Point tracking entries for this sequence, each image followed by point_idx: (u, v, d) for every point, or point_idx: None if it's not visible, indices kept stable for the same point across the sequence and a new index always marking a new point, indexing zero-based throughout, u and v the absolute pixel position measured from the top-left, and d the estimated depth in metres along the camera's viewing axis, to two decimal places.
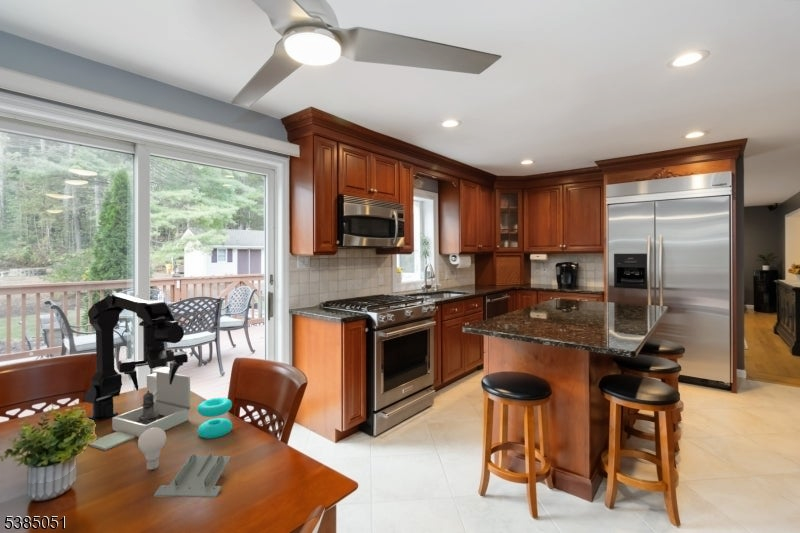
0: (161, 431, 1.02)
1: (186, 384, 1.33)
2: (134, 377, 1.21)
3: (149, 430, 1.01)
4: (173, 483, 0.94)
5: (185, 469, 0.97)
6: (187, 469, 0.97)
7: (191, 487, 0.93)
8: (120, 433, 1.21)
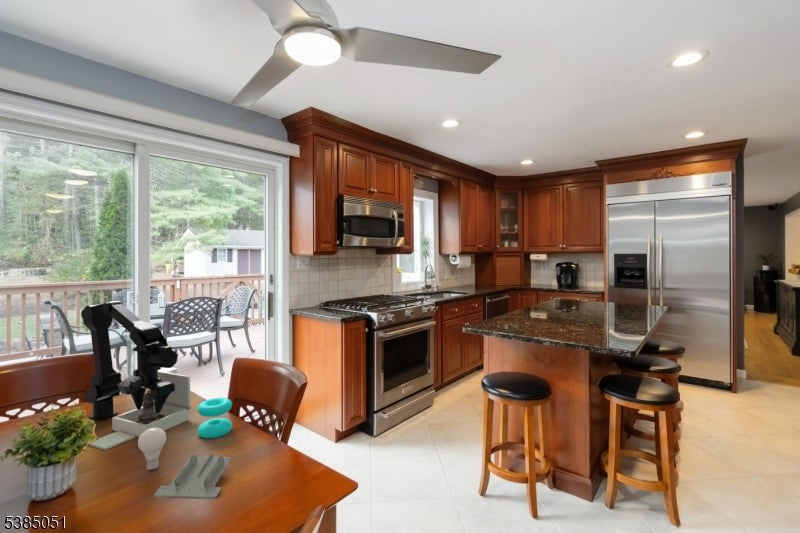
0: (161, 431, 1.02)
1: (186, 384, 1.33)
2: (133, 396, 1.29)
3: (149, 430, 1.01)
4: (173, 484, 0.94)
5: (185, 470, 0.96)
6: (187, 470, 0.97)
7: (191, 488, 0.92)
8: (120, 433, 1.21)
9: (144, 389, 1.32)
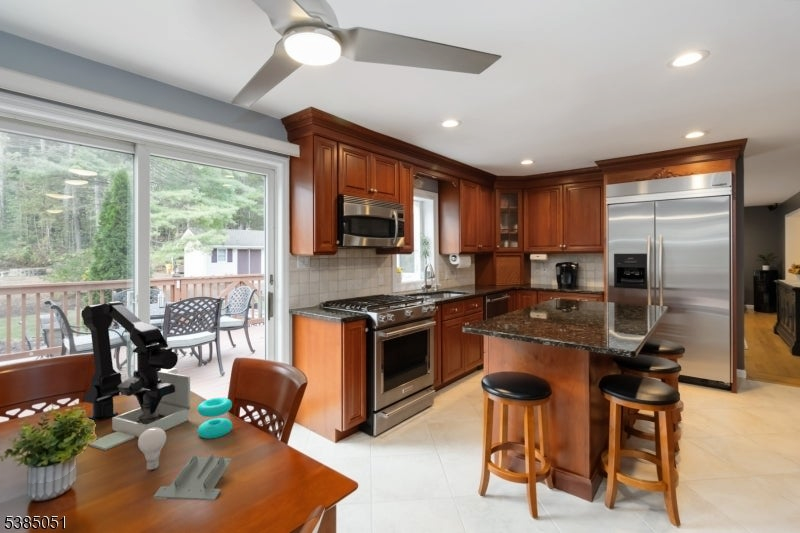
0: (161, 431, 1.02)
1: (186, 384, 1.33)
2: (139, 398, 1.28)
3: (149, 430, 1.01)
4: (173, 484, 0.93)
5: (185, 471, 0.96)
6: (188, 471, 0.97)
7: (190, 489, 0.92)
8: (120, 433, 1.21)
9: (149, 391, 1.31)
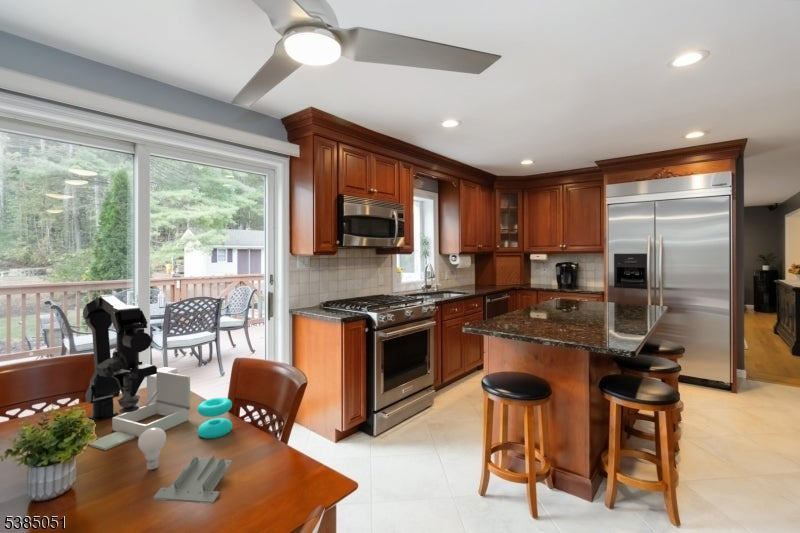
0: (161, 431, 1.02)
1: (186, 384, 1.33)
2: (118, 381, 1.22)
3: (149, 430, 1.01)
4: (173, 486, 0.93)
5: (186, 472, 0.95)
6: (188, 472, 0.96)
7: (190, 491, 0.91)
8: (120, 433, 1.21)
9: None
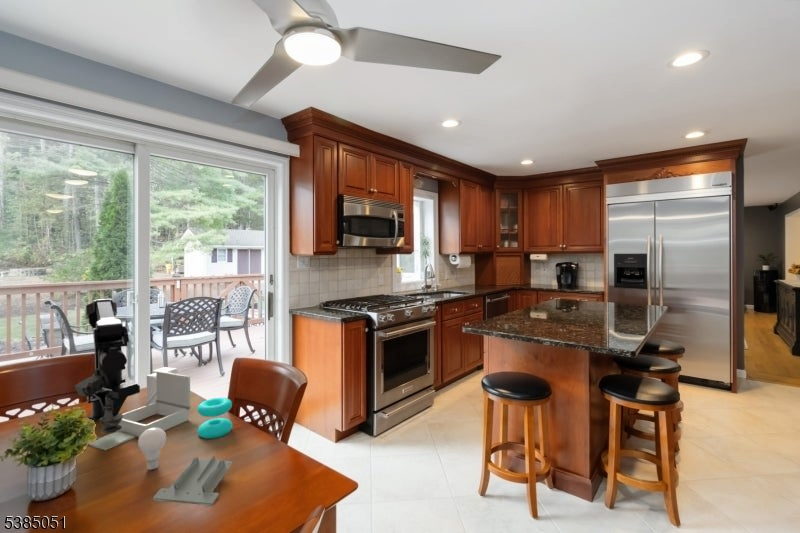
0: (161, 431, 1.02)
1: (186, 384, 1.33)
2: (100, 399, 1.17)
3: (149, 430, 1.01)
4: (173, 487, 0.93)
5: (186, 473, 0.95)
6: (188, 473, 0.96)
7: (189, 492, 0.91)
8: (120, 433, 1.21)
9: None
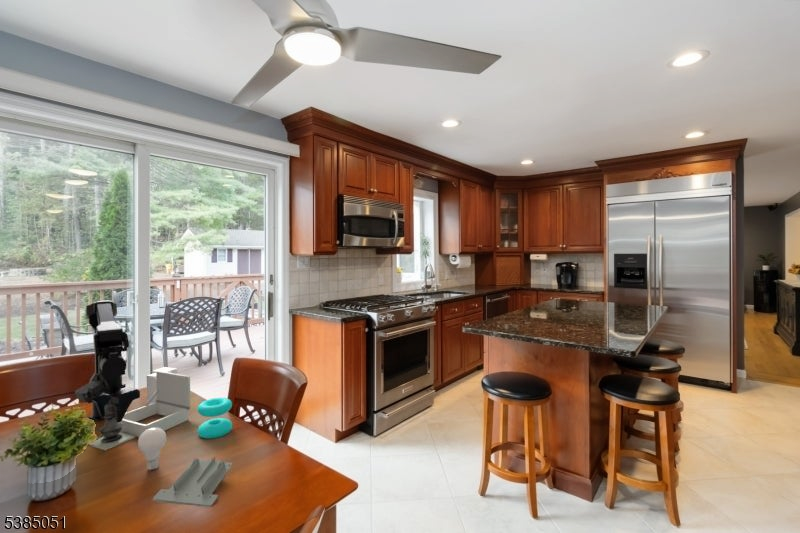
0: (161, 431, 1.02)
1: (186, 384, 1.33)
2: (97, 404, 1.18)
3: (149, 430, 1.01)
4: (173, 488, 0.92)
5: (186, 474, 0.94)
6: (188, 474, 0.95)
7: (189, 494, 0.90)
8: (120, 433, 1.21)
9: (110, 396, 1.21)
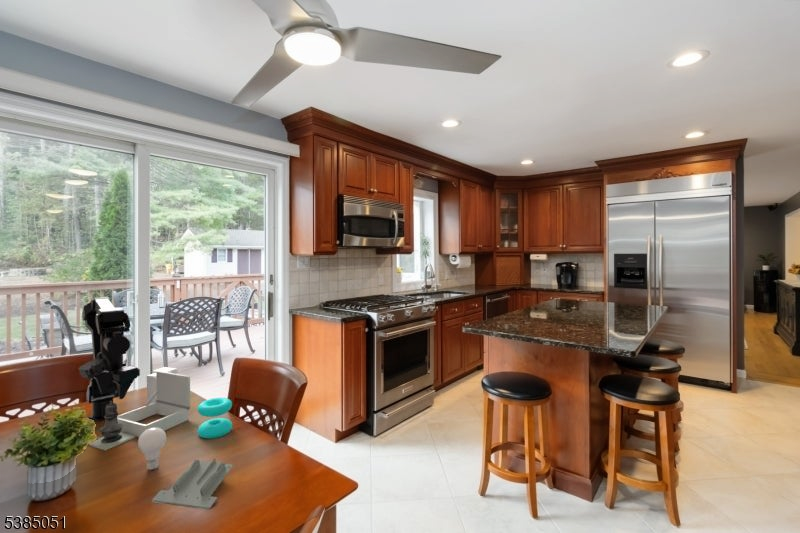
0: (161, 431, 1.02)
1: (186, 384, 1.33)
2: (97, 380, 1.24)
3: (149, 430, 1.01)
4: (172, 489, 0.92)
5: (186, 475, 0.94)
6: (188, 475, 0.95)
7: (188, 495, 0.90)
8: (120, 433, 1.21)
9: (109, 373, 1.27)
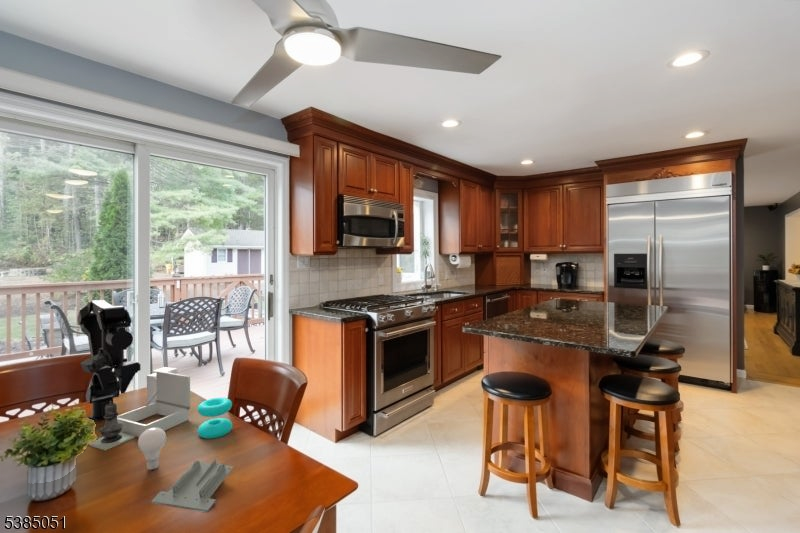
0: (161, 431, 1.02)
1: (186, 384, 1.33)
2: (99, 376, 1.27)
3: (149, 430, 1.01)
4: (172, 490, 0.91)
5: (185, 476, 0.93)
6: (188, 476, 0.94)
7: (187, 497, 0.89)
8: (120, 433, 1.21)
9: (110, 369, 1.30)
